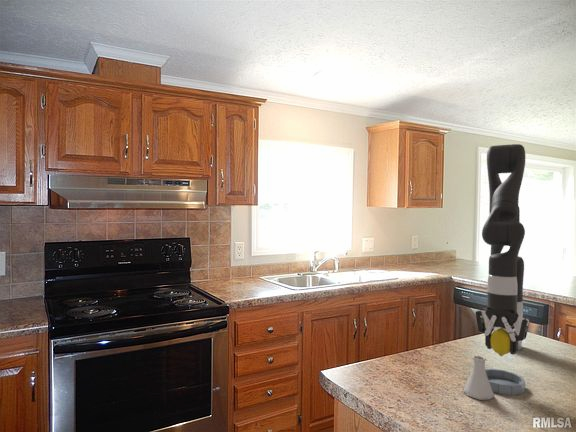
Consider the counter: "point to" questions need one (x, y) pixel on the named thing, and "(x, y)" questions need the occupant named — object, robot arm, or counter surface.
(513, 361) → the counter surface
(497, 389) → the dish
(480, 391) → the flask
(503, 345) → the lemon
